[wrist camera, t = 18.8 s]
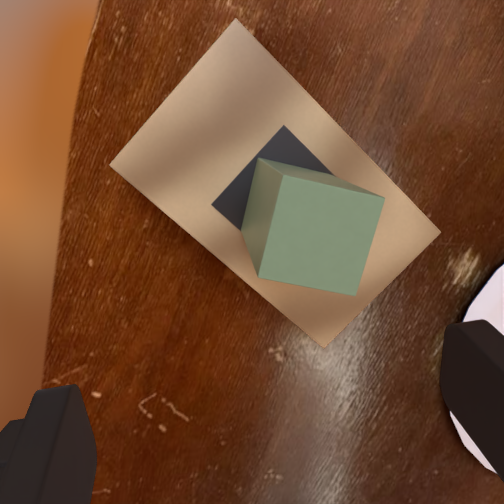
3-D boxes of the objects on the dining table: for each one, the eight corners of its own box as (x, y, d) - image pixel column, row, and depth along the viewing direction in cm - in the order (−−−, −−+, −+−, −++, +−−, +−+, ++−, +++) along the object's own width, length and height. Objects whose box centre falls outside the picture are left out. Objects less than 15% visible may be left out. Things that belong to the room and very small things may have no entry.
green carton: (240, 230, 32) (257, 277, 22) (257, 157, 31) (283, 174, 21) (310, 245, 33) (356, 297, 23) (330, 174, 32) (386, 197, 22)
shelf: (125, 156, 37) (107, 165, 30) (229, 36, 35) (236, 16, 28) (304, 312, 42) (324, 350, 35) (402, 213, 40) (443, 233, 34)
